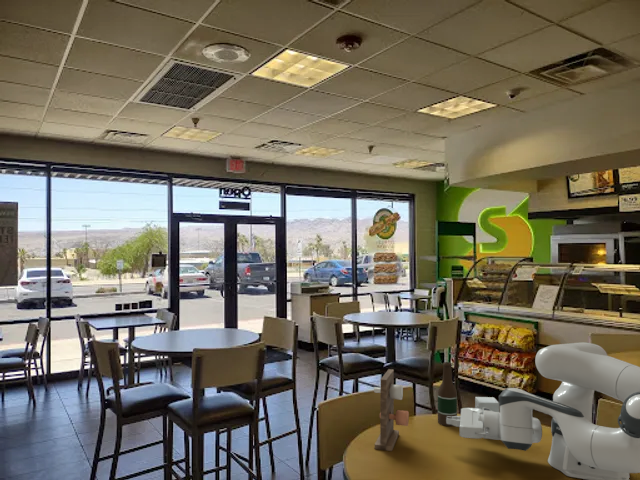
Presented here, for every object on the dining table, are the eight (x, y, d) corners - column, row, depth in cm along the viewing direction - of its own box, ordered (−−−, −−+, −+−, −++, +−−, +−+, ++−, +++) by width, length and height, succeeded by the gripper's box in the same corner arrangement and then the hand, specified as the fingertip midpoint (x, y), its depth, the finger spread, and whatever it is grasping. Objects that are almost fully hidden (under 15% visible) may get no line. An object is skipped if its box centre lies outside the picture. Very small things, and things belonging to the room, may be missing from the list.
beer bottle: (433, 423, 192) (433, 362, 193) (443, 418, 198) (443, 359, 198) (451, 428, 187) (451, 366, 187) (460, 423, 192) (460, 362, 193)
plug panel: (398, 434, 179) (399, 369, 180) (391, 451, 164) (392, 380, 165) (382, 432, 181) (383, 368, 182) (374, 448, 166) (374, 378, 167)
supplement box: (494, 430, 185) (494, 397, 185) (499, 437, 178) (499, 402, 178) (474, 429, 186) (474, 396, 186) (479, 436, 178) (479, 402, 179)
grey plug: (402, 397, 174) (402, 383, 174) (400, 401, 169) (400, 387, 169) (375, 394, 177) (375, 381, 177) (372, 398, 172) (373, 384, 172)
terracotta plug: (408, 423, 173) (408, 409, 173) (406, 427, 168) (406, 413, 168) (381, 420, 176) (381, 406, 176) (378, 424, 171) (378, 410, 171)
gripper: (489, 445, 152) (444, 440, 157) (487, 424, 172) (447, 419, 176) (489, 425, 152) (444, 420, 157) (487, 406, 172) (447, 402, 176)
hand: (446, 419), depth 166 cm, fingers closed
